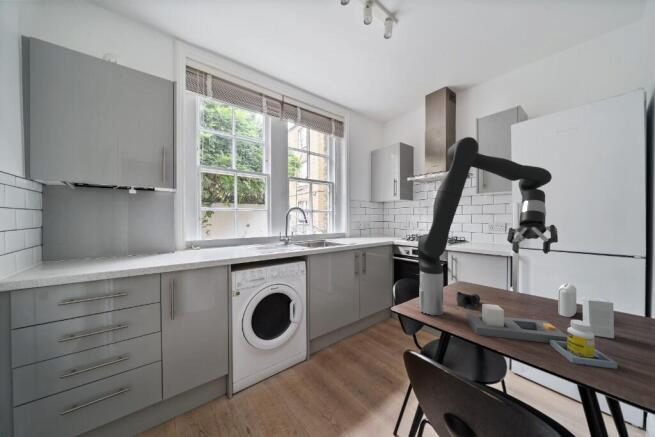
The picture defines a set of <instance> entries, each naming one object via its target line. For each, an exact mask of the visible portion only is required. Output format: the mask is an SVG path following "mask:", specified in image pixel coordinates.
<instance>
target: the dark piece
mask: <svg viewBox="0 0 655 437" xmlns="http://www.w3.org/2000/svg"><path fill="white" fill-rule="evenodd" d="M455 293H456V295H455V297H456V303H457V306H459V305H460V307H462V306H463V308H464V309H465V308H466V309H470V310H472V311H476V306H477V304H478V303H480V301H481V297H480V296H479V294H478V293H473V292H472V293H470V294H466V293H462V292H461V291H457V292H455Z"/></svg>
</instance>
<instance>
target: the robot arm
mask: <svg viewBox="0 0 655 437" xmlns="http://www.w3.org/2000/svg"><path fill="white" fill-rule="evenodd" d="M447 158H448V160H450V161H451V166H450V167H449V171H448V172H447V174H446V175H445V177H444V178H443V180H442V182H441V183H440V185H439V187H438V190H437V192H436V194H435V198H434V202H433V207H432V208H433V210H432V214H433V215H432V223H431V226H430V229H429V232H428V233H427V234H423V235H422V236H421V237H420V238H419V239H418V242H417V261H418V265H419V288H418V289H419V290H418V291H419V292H418V293H419V294H418V295H419V299H418V301H419V302H418V303H419V304H418V305H419V307H420V308H419V307H418V308H419V311H420V313H421V312H424V313H423V314H425V313H427V314H426V315H428V314H430V315H429V316H434V315H438V316H442V315H443V314H444V267H443V264H442V262H441V256H443V254H444V253H445V251H446V248H447V245H448V239H449V234H450V231H451V227H452V224H453V221H454V219H455V218H454V217H455V215H456V212H457V209H458V207H459V204H460V201H461V198H462V195H463V191H464V188H465V185H466V182H467V179H468V175H469V172H470V170H471V168H476V169H479V170H482V171H485V172H488V173H491V174H493V175H496V176H498V177H500V178H503V179H506V180H509V181H511V182H515V181H516V182H517V181H518V188H519V191H520V195H521V206H520V209H519V221H518V222H519V223H518V227H517V228H513V227H509V228H508V232H507V237H506V241H507V242H508V243H509V244H511V245H512V247H511V248H512V249H511V250H512V251H513V252H514V253H515V254H519V251H520V243H521V242H524V241H525V240H526V239H527V240H532V239H533V240H534V239H535V240H537V239H538V238H540V239H541V240H542V241H543V242H542V252H543V253H544V254H545V255H547V254H548V253H550V252H551V244H554V243H558V242H559V238H558V228H557V227H556V226H555V224H550V225H549V226H546V215H547V212H546V211H547V210H546V193H545V191H544V190H541V189H539V188H541V187H543V186H545V185H547V184H548V183H550V182H551V181H552V174H551V172H550V171H549V170H547V169H546V168H543V167H539V166H534V165H526V164H525V165H523V164H520V163H517V162H515V161H513V160H510V159H508V158H503V157H497V156H490V155H485V154H483V153H479V142H478V141H477V140H476V139H475V138H474V137H472V136H467V137H462V138H461V139H458V141H456V142H454V143H453V144H452V145H451V146H449V147H448V150H447ZM547 231H548V232H549V233H550V238H548V237H547V236H545V235H544V233H546V232H547ZM517 233H518V234H517ZM515 235H516V236H515Z"/></svg>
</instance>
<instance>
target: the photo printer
mask: <svg viewBox="0 0 655 437" xmlns="http://www.w3.org/2000/svg"><path fill="white" fill-rule="evenodd" d="M557 294H558V295H557V297H558V300H557V301H558V303H557V305H558V306H557V307H558V309H557V310H558V315H560V316H562V317H564V318H565V317H566V318H571V317H573V316H574V315H576V313H577V288H576V286H574V284H572V283H563V284H561V285H560V287H559V288H558V292H557Z"/></svg>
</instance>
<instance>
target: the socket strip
mask: <svg viewBox="0 0 655 437" xmlns="http://www.w3.org/2000/svg"><path fill="white" fill-rule="evenodd" d="M481 309H482V310H481V311H482V312H481V314H475V313H466V314H465V319H466V322H467V323H468V324H469V326H470V328H471V329H472V330H473V332H474V333H475V334H476V335H478V336H488V337H495V338H496V337H497V338H504V339H505V338H506V339H511V340H522V341H530V342H539V343H549V344H550V340H555V341H564V342H567V333H564V332H563V331H561V330H560V329H559V328H557V327H555V325H552V323H550V322H549V321H547V320H542V319H541V320H539V319H531V318H530V319H529V318H519V317H509V316H508V317H507V316H505V312H504V311H505V310H504V309H503V308H502V307H500V306H499V305H497V304H491V303H490V304H488V303H482V306H481Z"/></svg>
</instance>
